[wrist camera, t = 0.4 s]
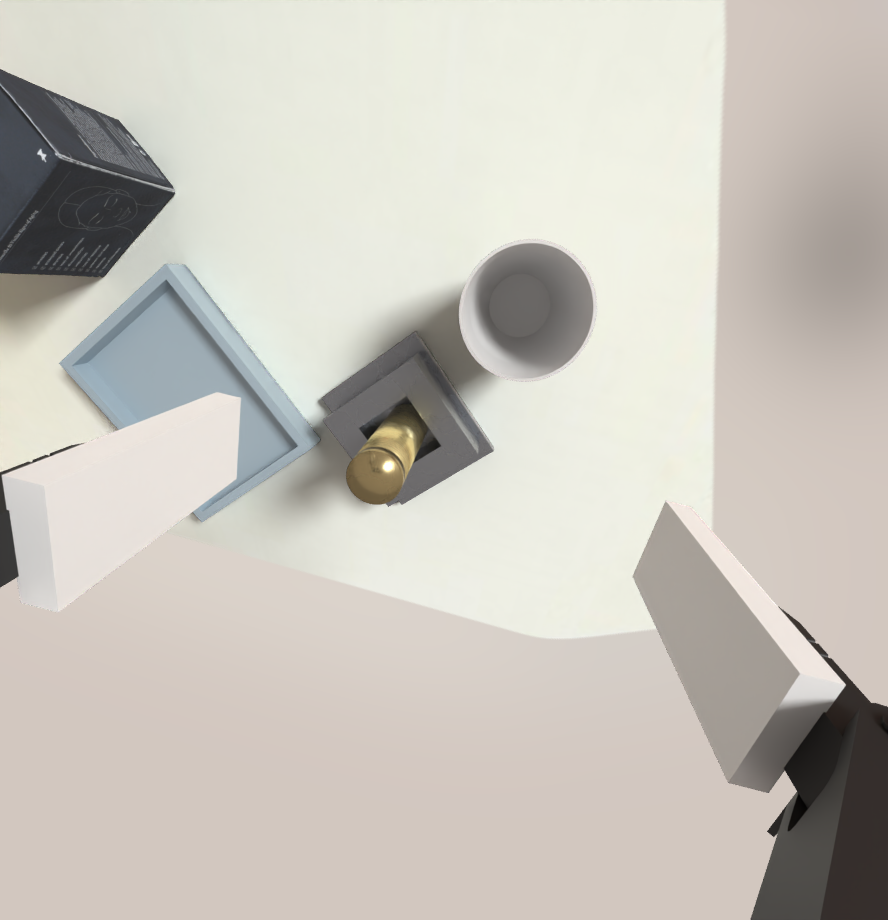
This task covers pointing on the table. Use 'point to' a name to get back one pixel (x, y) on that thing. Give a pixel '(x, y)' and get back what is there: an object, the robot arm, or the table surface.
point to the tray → (188, 375)
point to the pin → (387, 456)
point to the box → (69, 184)
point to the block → (431, 393)
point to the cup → (527, 310)
